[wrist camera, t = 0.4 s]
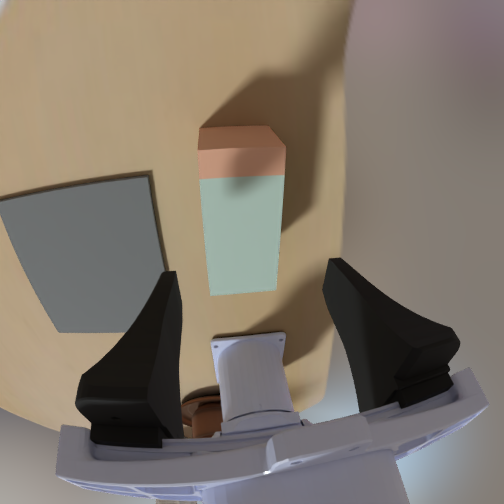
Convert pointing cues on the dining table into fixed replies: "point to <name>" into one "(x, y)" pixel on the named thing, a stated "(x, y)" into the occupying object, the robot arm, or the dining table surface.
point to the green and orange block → (241, 206)
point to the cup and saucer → (203, 415)
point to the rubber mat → (88, 251)
